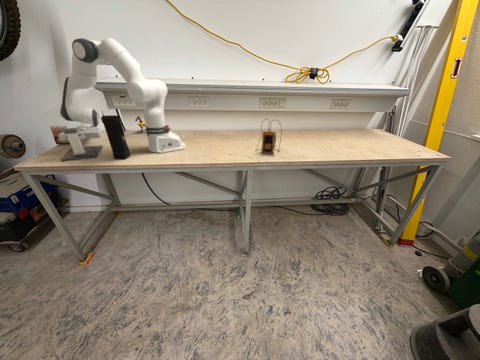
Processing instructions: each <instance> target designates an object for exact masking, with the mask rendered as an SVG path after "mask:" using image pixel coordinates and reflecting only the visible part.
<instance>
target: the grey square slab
mask: <svg viewBox="0 0 480 360" xmlns="http://www.w3.org/2000/svg"><path fill="white" fill-rule="evenodd" d="M103 147H104V146H103V145H102V144H101V145H92V146H83V149H84V151H86V154H85V155H78V156H73V154H74V151H73V149H72V147H71V148H70V149H69V150H68V151H67V152H66V153H65V154H64V155H63V156H61V158H60V159H59V160H60V162H61V163H62V162H71V161H79V160H80V161H81V160H88V159H96V158H97V157H98V155H100V153H101V151H102V150H101V149H104V148H103Z"/></svg>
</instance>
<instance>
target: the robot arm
mask: <svg viewBox="0 0 480 360" xmlns="http://www.w3.org/2000/svg"><path fill="white" fill-rule="evenodd" d="M71 49H72V55H71V74H70V76H67V77H66V78H65V80H64V85H63V91H62V97H61V98H62V99H61V100H62V101H61V106H60V110H59V112H60V114H59V115H60V116H61V117H62V118H63V119H64V120H66V121H67V122H77V123H79V125H77V126H76V127H75V128H77V131H78V132H77V134H78V136H79V139H80V141H82V140H83V141H88V140H90V139H100V138H102V137H103V135H102V132H101V128H100V127H99V124H100V115H99V114H98V112H97V111H96V110H95V109H94V108H90V107H85V106H79V105H75V104H73V97H74V92H75V91H77V90H87V89H91V88H94V87H95V86H96V85H97V81H98V79H97V77H98V74H97V71H98V70H97V66H112V67H113V68H114V69H115V70H116V71H117V72H118V74H119V75H120V76H121V77H122V78H123V79H124V81H125V82H126V84H127V86H126V91H127V94H128V97H129V98H130V99H131V100H132V101H134V102H136V103H143V104H144V103H145V108H144V110H143V118H144V121H145V124H146V127H145V129H146V131H145V134H146V133H147V134H146V137H147V140H148V147H147V148H148V149H147V150H148V152H152V153H158V154H164V153H165V154H166V153H171V152H176V151H181V150H185V149H186V143H185V142H183V141H182V140H181V137H180V136H179V135H178V134H176V133H174V132H172V131H171V130H172V128H171V126H170V125H168V124H166V118H165V109H164V108H165V100H166V97H167V95H168V93H169V92H168V86H167V85H166V83H165V82H164V81H162V80H159V79H158V78H146V77H145V76H144V75H143V73H142V66H141V65H140V63H138V61H137V60H136V59H135V58H134V57H133V56H132V55H131V54H130V52H129V51H128V50H127V49H126V48H125V47H124V46H123V45H122V44H120V42H118V41H117V40H116V39H114V38H112V37H106V38H104V39H102V40H101V41H99V40H95V39H88V38H82V37H81V38H76V39H74V40H73V41H72V44H71ZM58 136H59V139H60V140H61V141H66V140H68V137H67V135H66V134H64V132H62V133H60V134H59V135H58Z"/></svg>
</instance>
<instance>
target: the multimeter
mask: <svg viewBox="0 0 480 360" xmlns="http://www.w3.org/2000/svg"><path fill="white" fill-rule="evenodd" d="M265 120H267V121H268V122H270V123H272V122H273V121H275V119H272V121H270V120H269V119H268V118H265V119H264V121H265ZM264 121H262V122H261V125H260V138H259V140H258V143H257V145H256V148H255V152H257V151H259V150H260V151H261V152H262V153H268V154H274V153H275V151H277V152H278V153H279V152H280V149H276V148H275V147H276V145H277V144H276V142H277V135H276V133H277V132H276V130H272V124H269V125H268V128H267V130H266V129H265V130H263V131H262V129H263V128H262V125H263V123H264ZM276 121H277V122H278V124H279V125H280V127H282V125H281V122H280V121H279V119H276ZM280 134H281V135H280V136H282V134H283V133H282V129H280ZM261 139H262V140H261ZM281 140H282V138H280V141H279V143H281ZM260 141H262V142H261V148H259V149H258V146H259V144H260ZM280 145H281V144H279V145H278V148H280Z"/></svg>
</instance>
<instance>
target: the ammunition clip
mask: <svg viewBox="0 0 480 360" xmlns="http://www.w3.org/2000/svg"><path fill="white" fill-rule="evenodd" d="M49 127H50V128H49V129H50V131H51V134H52V136H53V140H54V142H55V144H56V145H59V146H61V144H62V145H68V146H69V145H70V146H71V144H70V142H69V140H66V141H61V140H60V139H59V136H58V135H59V134H60V133H62V132H64V131H63V130H64V129H68V128H67V126H66V125H64V126H63V125H61V126H60V125H59V126H58V125H56V126H55V125H53V126H52V125H49Z"/></svg>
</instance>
